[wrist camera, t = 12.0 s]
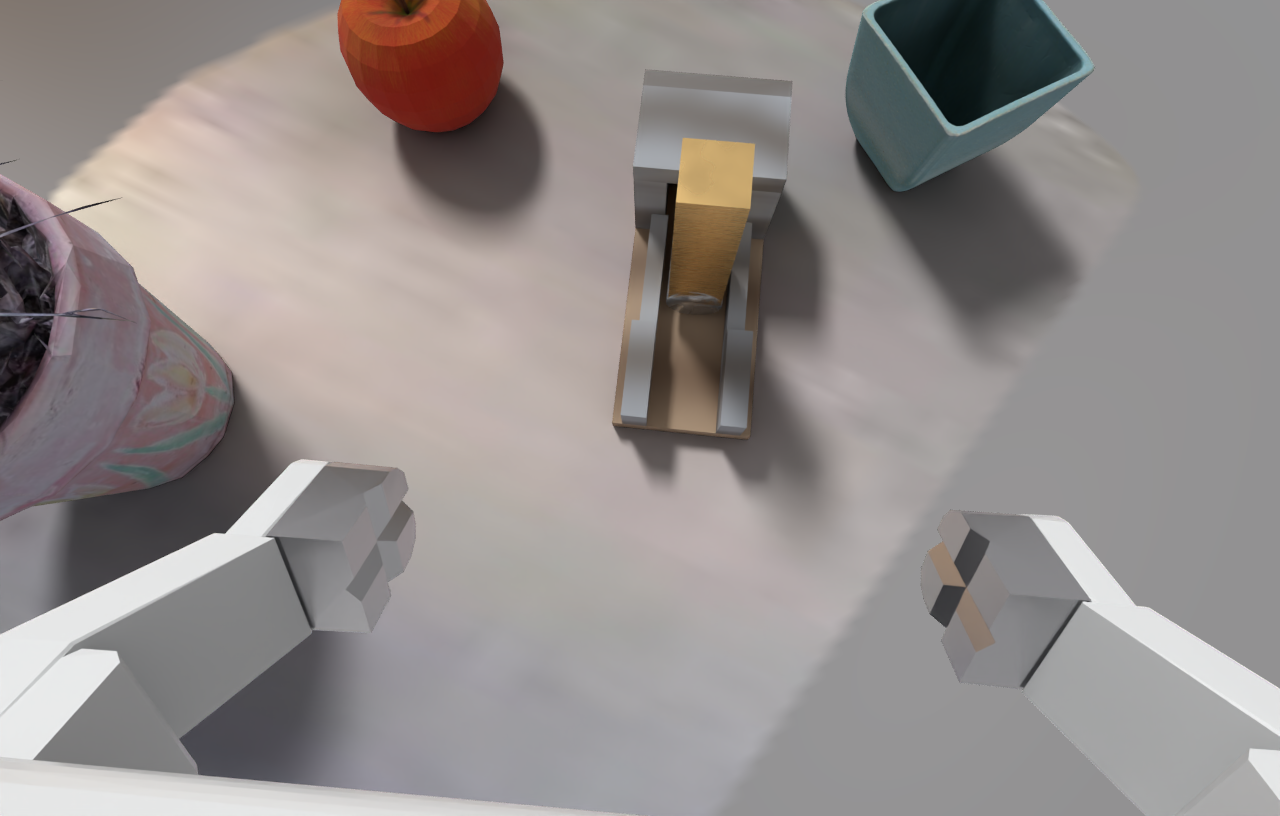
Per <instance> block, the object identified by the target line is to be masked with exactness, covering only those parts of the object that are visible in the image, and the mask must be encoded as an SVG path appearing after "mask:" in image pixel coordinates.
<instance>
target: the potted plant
mask: <svg viewBox="0 0 1280 816" xmlns="http://www.w3.org/2000/svg"><path fill="white" fill-rule="evenodd" d="M10 162H11V161H10ZM6 163H9V162H6ZM1 164H5V163H1ZM1 164H0V165H1ZM118 199H120V198H118ZM114 200H116V199H114ZM109 201H113V200H109ZM109 201H105V202H109ZM105 202H101V203H96V204H92V205H87V206H83V207H80V208H77V209H74V210H71V211H68V212H64V211H62V210H61V209H59V208H58V207H56V206H54V205H53V204H51V203H50V202H48V201H46V200H45V199H43V198H41V197H40V196H38V195H36V194H34V193H32V192H31V191H29V190H27V189H25V188H24V187H22V186H20V185H18V184H17V183H15V182H13V181H11V180H10V179H8V178H6V177H4V176H2V175H1V174H0V521H1V520H3V519H5V518H7V517H9V516H12V515H14V514H16V513H18V512H20V511H22V510H25V509H27V508H29V507H32V506H38V505H45V504H52V503H59V502H65V501H72V500H78V499H84V498H91V497H97V496H103V495H110V494H116V493H122V492H129V491H135V490H141V489H148V488H152V487H155V486H158V485H161V484H164V483H167V482H170V481H173V480H176V479H179V478H182V477H183V476H185V475H186V474H187V473H188V472H189V471H191V470H192V469H193V468H194V467H195V466H196V465H198V464H199V463H200V462H201V461H202V460H204V459H205V458H206V457H207V456H208V455H209V454H210V453H211V451H212V450H213V449H214V448H215V447H216V445H217V444H218V443H219V442H220V441H221V439H222V438H223V437H224V434H225V431H226V428H227V424H228V421H229V418H230V415H231V411H232V408H233V405H234V393H233V382H232V372H231V371H230V369H229V368H228V367H227V365H226V364H225V363H224V361H223V360H222V358H221V357H220V356H219V354H218V353H217V352H216V351H215V349H214V348H213V347H212V346H211V345H210V344H209V343H208V342H207V341H206V340H204V339H203V338H202V337H201V336H200V335H199V334H197V333H196V332H195V331H194V330H193V329H192V328H190V327H189V326H188V325H187V324H186V323H185V322H183V321H182V320H181V319H180V318H179V317H178V316H176V315H175V314H174V313H173V312H172V311H171V310H169V309H168V308H167V307H166V306H165V305H163V304H162V303H161V302H160V301H159V300H158V299H156V298H155V297H154V296H153V295H152V294H151V293H149V292H148V291H147V290H146V289H145V288H144V287H142V286H141V285H140V284H139V283H138V281H137V278H136V275H135V272H134V269H133V267H132V266H131V265H130V264H129V263H128V262H127V261H126V260H125V259H124V258H123V257H122V256H121V255H120V254H119V253H118V252H117V251H116V250H115V249H114V248H113V247H112V246H111V245H110V244H109V243H108V242H107V241H106V240H105V239H104V238H103V237H102V236H101V235H100V234H99V233H97V232H96V231H94V230H93V229H91V228H89V227H88V226H86V225H85V224H83V223H81V222H80V221H78V220H77V219H75V218H73V217H72V216H70V215H69V214H67V213H70V212H74V211H77V210H81V209H84V208H88V207H91V206H95V205H98V204H102V203H105Z"/></svg>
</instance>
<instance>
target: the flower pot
mask: <svg viewBox="0 0 1280 816" xmlns="http://www.w3.org/2000/svg"><path fill="white" fill-rule="evenodd" d="M1094 68H1095V67H1094V65H1093V63H1092V61H1091V59H1090V58H1089V56H1088V55H1087V53H1086V52H1085V50H1084V49H1083V48H1082V47H1081V45H1080V44H1079V43H1078V42H1077V41H1076V40H1075V38H1074V37H1073V36H1072V35H1071V34H1070V32H1069V31H1068V30H1067V29H1066V28H1065V27H1064V25H1063V24H1062V23H1061V22H1060V20H1058V18H1057V17H1056V16H1055V14H1054V13H1053V12H1052V11H1051V9H1050V8H1049V7H1048V6H1047V4H1046V3H1045V2H1044V1H1043V0H879V1H876V2H874V3H872V4H871V5H869V6H867V7H866V8H865V9H864V10H863V13H862V17H861V22H860V25H859V29H858V33H857V37H856V41H855V45H854V49H853V53H852V58H851V62H850V66H849V70H848V75H847V81H846V107H847V112H848V116H849V120H850V123H851V126H852V128H853V131H854V134H855V136H856V138H857V140H858V141H859V143H860V144H861V146H862V147H863V148H864V150H865V151H866V153H867V154H868V156H869V157H870V159H871V160H872V161H873V163H874V164H875V166H876V167H877V169H878V170H879V172H880V173H881V175H882V177H883V178H884V180H885V181H886V183H887V184H888V186H889V187H890V188H891V189H892V190H893V191H897V192H899V191H906V190H909V189H912V188H914V187H916V186H918V185H920V184H922V183H924V182H926V181H928V180H930V179H932V178H934V177H936V176H938V175H940V174H942V173H944V172H946V171H948V170H950V169H952V168H954V167H956V166H959V165H961V164H963V163H965V162H967V161H969V160H971V159H973V158H975V157H977V156H979V155H982V154H984V153H986V152H988V151H990V150H992V149H994V148H996V147H998V146H1000V145H1002V144H1003V143H1005V142H1007V141H1008V140H1010V139H1012V138H1013V137H1015V136H1016V135H1018V134H1019V133H1021V132H1022V131H1023V130H1025V129H1026V128H1027V127H1029V126H1030V125H1031V124H1032V123H1034V122H1035V121H1036V120H1037V119H1038V118H1039V117H1041V116H1042V115H1043V114H1044V113H1045V112H1046V111H1048V110H1049V109H1050V108H1051V107H1052V106H1054V105H1055V104H1056V103H1057V102H1058V101H1059V100H1061V99H1062V98H1063V97H1064V96H1065V95H1066V94H1068V92H1070V91H1071V90H1072V89H1073V88H1075V87H1076V86H1077V85H1078V84H1079V83H1080V82H1082V80H1084V79H1085V78H1086V77H1087V76H1089V75H1090V74H1091V73H1092V72H1093V71H1094Z"/></svg>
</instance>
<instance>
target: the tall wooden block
mask: <svg viewBox="0 0 1280 816" xmlns="http://www.w3.org/2000/svg"><path fill="white" fill-rule="evenodd" d="M754 152H755V144H752V143H741V142H729V141H717V140H705V139H693V138H683V139H682V149H681V159H680V168H679V178H678V187H677V197H676V207H675V220H674V231H673V240H672V250H671V259H670V269H669V278H668V288H667V297H666V304H667V305H668V306H669V307H670V308H671V309H673V310H675V311H677V312H680V313H684V314H691V315H706V314H712V313H715V312H717V311H719V310H720V309H721V308H722V300H723V296H724V292H725V289H726V286H727V283H728V280H729V276H730V273H731V270H732V267H733V263H734V260H735V257H736V254H737V250H738V247H739V244H740V241H741V237H742V234H743V231H744V228H745V224H746V221H747V218H748V215H749V211H750V206H751V193H752V179H753V165H754Z"/></svg>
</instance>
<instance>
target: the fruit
mask: <svg viewBox="0 0 1280 816" xmlns="http://www.w3.org/2000/svg"><path fill="white" fill-rule="evenodd" d="M338 34H339V42H340V50H341V53H342V55H343V57H344V60H345V62H346V64H347V66H348V68H349V70H350V73H351V75H352V77H353V79H354V81H355V84H356V86H357V87H358V88H359V90H360V91H361V92H362V93H363V94H364V95H365V96H366V98H367V99H368V100H369V101H370V102H371V103H372V104H373V105H374V106H375V107H376V108H377V109H378V110H379V111H380V112H381V113H382V114H384V115H385V116H387V117H389V118H391V119H392V120H394V121H396V122H398V123H400V124H402V125H404V126H407V127H409V128H411V129H413V130H421V131H429V132H445V131H452V130H456V129H458V128H461V127H463V126H465V125H468V124H470V123H471V122H472V121H473V120H475V119H476V118H477V117H478V116H480V115H481V114H482V113H483V112H484V111H485V110H486V108H487V107H488V105H489V104H490V102H491V101H492V99H493V98H494V96H495V95H496V93H497V89H498V85H499V81H500V77H501V73H502V68H503V54H502V45H501V38H500V31H499V26H498V24H497V22H496V20H495V17H494V15H493V13H492V11H491V9H490V7H489V5H488V3H487V1H486V0H341V3H340V7H339V10H338Z"/></svg>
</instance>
